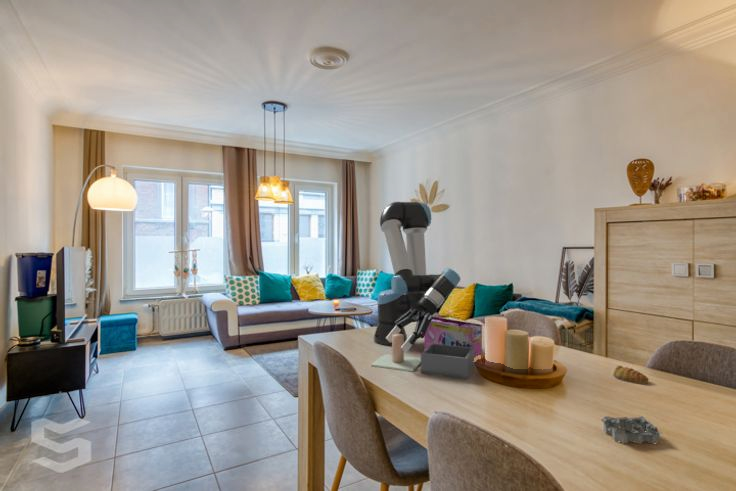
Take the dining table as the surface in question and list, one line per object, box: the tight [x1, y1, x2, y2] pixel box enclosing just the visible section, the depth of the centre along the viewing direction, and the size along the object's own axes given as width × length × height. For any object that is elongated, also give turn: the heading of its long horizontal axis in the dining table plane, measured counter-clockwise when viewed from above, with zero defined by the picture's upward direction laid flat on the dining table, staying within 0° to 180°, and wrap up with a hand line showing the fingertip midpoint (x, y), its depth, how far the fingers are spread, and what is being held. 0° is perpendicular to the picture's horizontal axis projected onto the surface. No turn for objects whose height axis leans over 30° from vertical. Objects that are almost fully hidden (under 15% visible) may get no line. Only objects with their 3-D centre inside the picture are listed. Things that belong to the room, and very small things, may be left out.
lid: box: [371, 334, 421, 373], centre depth 147 cm, size 14×16×11 cm
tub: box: [420, 343, 475, 380], centre depth 140 cm, size 14×16×7 cm
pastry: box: [612, 365, 649, 385], centre depth 130 cm, size 9×7×4 cm
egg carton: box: [600, 416, 663, 444], centre depth 93 cm, size 11×8×4 cm
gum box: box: [423, 316, 483, 358], centre depth 158 cm, size 24×8×14 cm, turn 46°
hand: (395, 345), depth 147 cm, fingers open, 13 cm apart
